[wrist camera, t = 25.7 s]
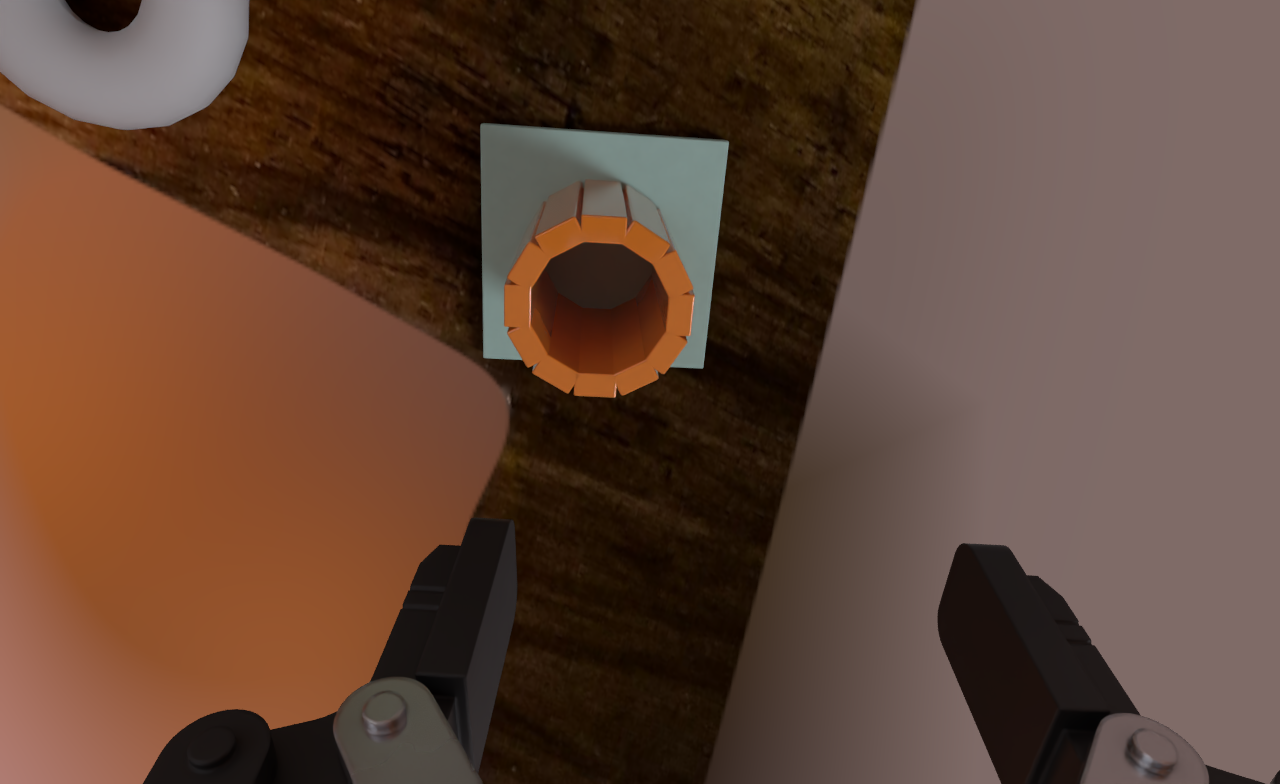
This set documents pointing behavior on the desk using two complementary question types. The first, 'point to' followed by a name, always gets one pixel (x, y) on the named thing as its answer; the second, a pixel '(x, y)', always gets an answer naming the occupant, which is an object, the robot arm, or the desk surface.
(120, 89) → the donut
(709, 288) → the mat
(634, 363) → the pen holder
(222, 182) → the desk surface
